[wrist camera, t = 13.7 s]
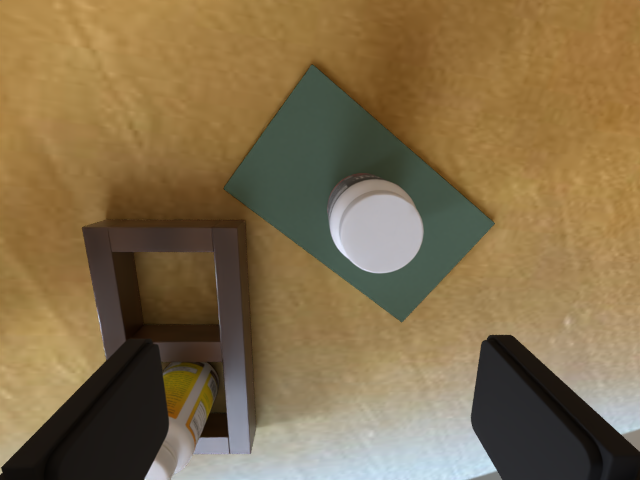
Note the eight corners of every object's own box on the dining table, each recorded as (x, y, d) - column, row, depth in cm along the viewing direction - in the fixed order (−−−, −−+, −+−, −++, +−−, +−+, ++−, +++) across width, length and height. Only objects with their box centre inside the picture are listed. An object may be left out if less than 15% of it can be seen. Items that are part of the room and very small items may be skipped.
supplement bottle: (152, 375, 33) (80, 473, 23) (192, 343, 32) (137, 431, 22) (192, 412, 34) (141, 520, 24) (232, 382, 33) (197, 481, 23)
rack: (139, 428, 34) (123, 454, 31) (105, 219, 29) (81, 227, 26) (256, 428, 34) (250, 454, 31) (245, 219, 29) (237, 227, 26)
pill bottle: (405, 188, 28) (453, 208, 18) (377, 248, 29) (407, 297, 19) (342, 161, 27) (356, 167, 18) (316, 224, 28) (316, 262, 19)
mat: (224, 188, 28) (223, 188, 28) (312, 65, 26) (312, 63, 25) (400, 320, 31) (401, 322, 31) (492, 222, 29) (495, 223, 29)
